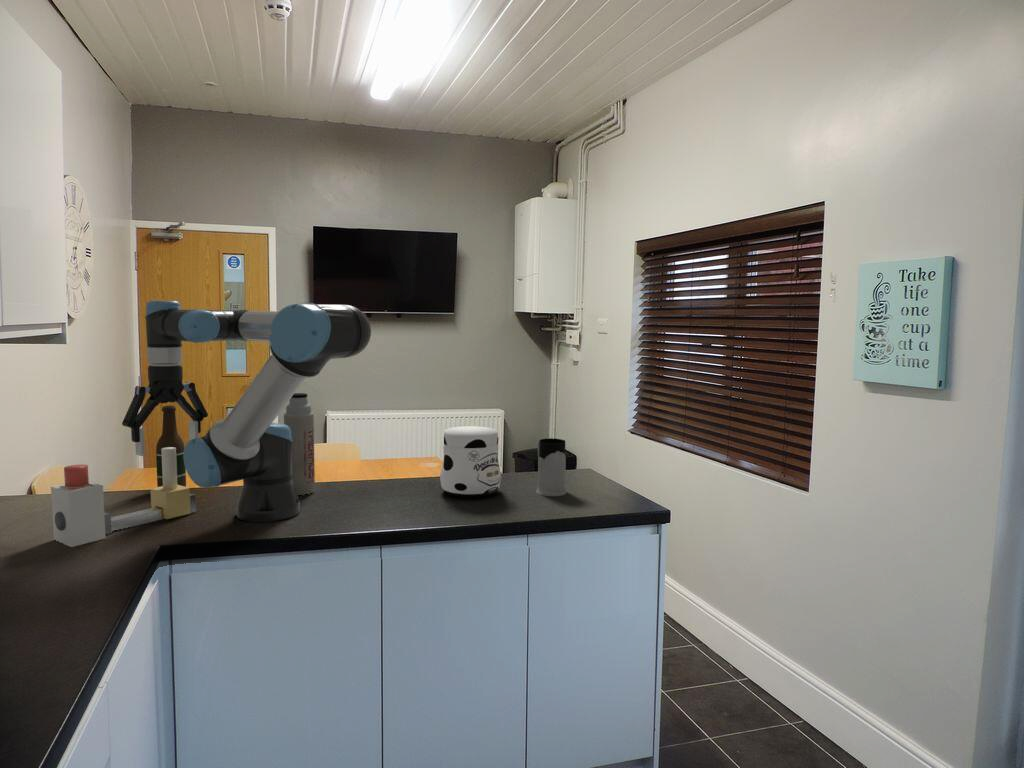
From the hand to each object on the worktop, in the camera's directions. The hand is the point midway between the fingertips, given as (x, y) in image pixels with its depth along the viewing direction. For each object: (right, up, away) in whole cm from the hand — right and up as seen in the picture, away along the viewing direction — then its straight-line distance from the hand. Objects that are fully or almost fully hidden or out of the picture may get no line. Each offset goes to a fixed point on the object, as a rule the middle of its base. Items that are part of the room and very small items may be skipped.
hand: (168, 450), depth 167 cm
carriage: (0, -16, +2) cm, 16 cm away
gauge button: (-11, -6, -18) cm, 22 cm away
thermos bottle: (+25, -14, +25) cm, 38 cm away
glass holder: (+95, -15, +31) cm, 101 cm away
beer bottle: (-11, -14, +24) cm, 30 cm away
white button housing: (-11, -18, -17) cm, 27 cm away
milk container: (+73, -15, +27) cm, 79 cm away
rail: (-3, -17, -3) cm, 17 cm away
